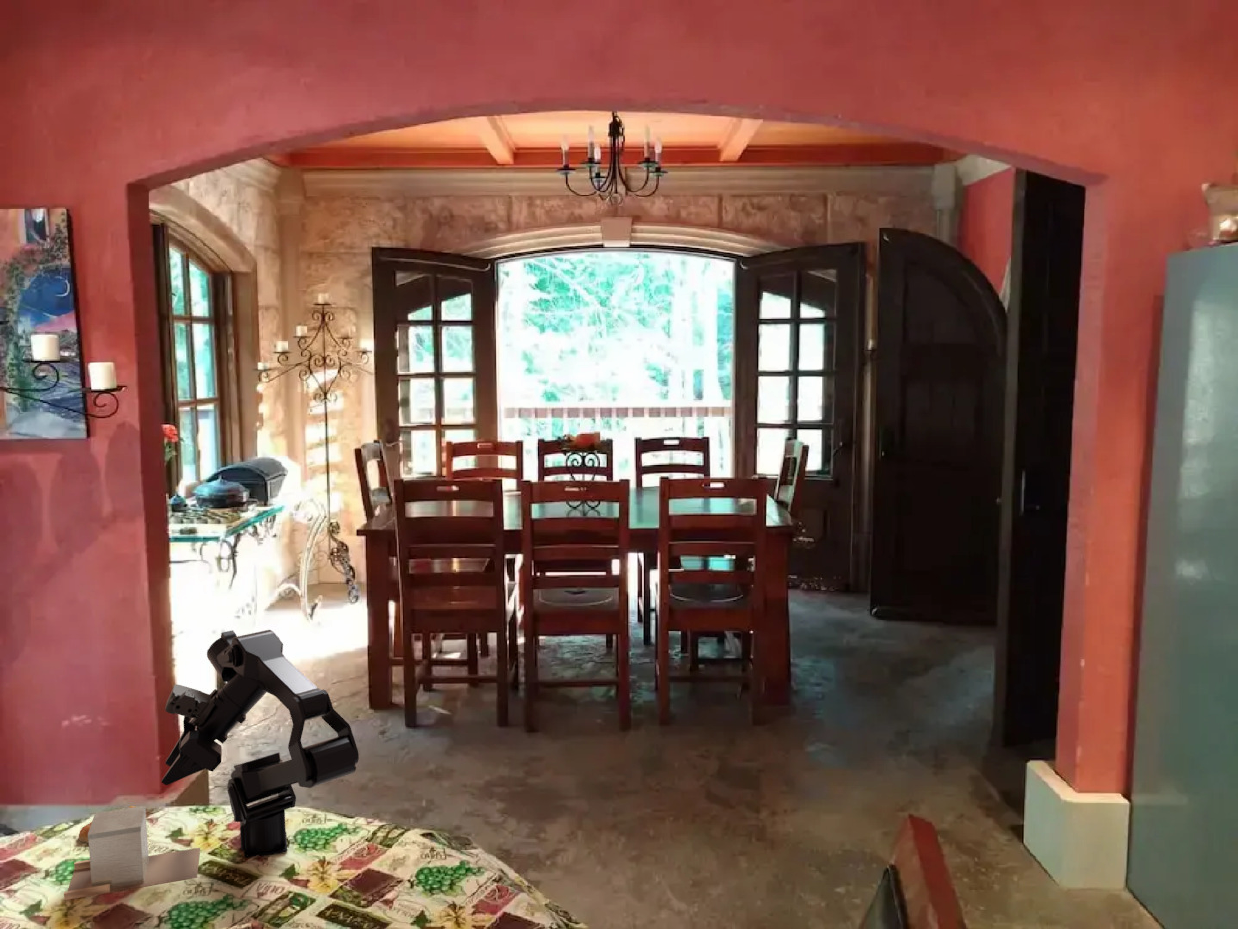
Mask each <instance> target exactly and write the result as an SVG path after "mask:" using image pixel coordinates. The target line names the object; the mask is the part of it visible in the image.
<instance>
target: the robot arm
mask: <svg viewBox="0 0 1238 929" xmlns="http://www.w3.org/2000/svg"><path fill="white" fill-rule="evenodd" d="M283 643H284V642H282V641H281V639H280V637H279V636H278V635H277V634H276V632H274V631H273V630H271V629H267V630H262V631H257V632H252V633H247V634H243V635H242V634H241V635H237V634H236V632H235V631H234V630H232V629H231V630H228V631H223V632H221V633H220V637H219V638H218V639H216V640H215V641H214V642H213V643H211V645H210V646H209V648H208V649H207V651H206V657H207V659H208V661H209V662H210V664H211V665H212V666H213V668H214V670H215V671H216V672H217V674H218V676H219V677H220V678H221V680H222V681H223V682H224V683H225V684H224V686H222V687H221V688H218V687H217V689H213V690H212V692H210V693H209V694H208V693H206V692H203V691H201V690H198V689H196V688H191V687H188V686H185V685H181V684H174V685H173V687H172V689H171V692H170V694H169V696H168V698H167V701H166V703H165V707H164V711H165V712H166V713H168V714H171V715H175V714H176V715H179V716H183V724H182V725H183V732H182V733H181V735H180V737H179V739H178V740H177V742H176V743H175V745H174V747H173V749H172V750H171V752H170V754H169V755H168V757H167V758H166V760H165V765H167V766H168V767H169V769H168V770H167V772H166V773H165V774H164V776H163V778H162V779H161V783H162V784H164V785H165V786H169V785H171V784H173V783H175V782H178V781H180V780H182V779H184V778H187V777H189V776H191V775H193V774H197V773H199V772H201V771H202V772H203V771H204V770H207V771H209V772H214V771H215V770H216V769H217V768H218V766H219V765H221V763H222V759H223V758H222V755H223V750H222V745H221V744H224V743H225V742H226V741H227V740H228V734H229V733H230V732H231V731H232V730H233V729H234V728H235V727H236V726H237V725H238V724H243V723H244V722H245V721H246V719H247V714H248V713H249V712H250V710H252V709H253V708H254V707H255V706H256V704H257V703H258V702H259V701H260V700H261V699H262V698H263V697H264V696H265V694H266V693H267V694H270V695H272V696H274V697H275V698H276V699H278V701H279V702H280V703H281V704H282V705H283V706H284V707H285V708H286V709H287V710H288V711H289V715H290V718H291V721H292V729H291V733H290V737H289V741H288V746H287V748H288V752H289V756H290V759H289V760H286V761H283V759H281V753H280V752H279V751H278V752H275V753H272V754H268V755H266V756H262V757H258V758H256V759H252V760H249V761H245V762H242V763H239V764H236V765H234V766H233V768H234V770H233V771H232V772H231V774H230V779H229V780H228V782H227V786H226V787H227V794H228V798H229V803H230V808H231V812H232V815H233V820H234V822H235V823H239V831H240V833H239V834H240V848H241V849H240V850H241V851H242V852H244V856H243V857H244V859H249V858H255V857H259V858H260V857H267V856H271V855H272V856H273V855H279V854H284V853H287V852H288V838H287V831H286V812H285V810H288V809H294V808H295V806H296V800H297V795H296V794H295V791H294V789H293V786H292V785H294V784H298V786H299V787H302V788H308V789H312V788H315V787H318V786H320V785H323V784H324V785H325V784H327V783H330V782H332V781H335V780H338V779H341V778H343V777H346V776H350V775H352V774H354V773H355V772H356V770H357V766H356V765H357V764H358V763H359V758H360V757H359V755H360V754H359V751H358V750H359V749H358V747H357V746H358V745H357V744H356V740H355V737H354V735H353V730H352V727H351V725H350V723H349V722H347V720H345V719H344V718H343V717H342V716H341V714H339V713H338V712H337V711H336V710H335V709H334V707H333V704H332V700H331V698H330V695H329V693H328V691H327V690H326V689H320V688H318V687H317V686H316V685H315V684H314V683H313V682H312V681H311V680H310V679H309V678H308V677H307V676H306V675H304V673H302V672H301V671H300V669H298V668H297V667H296V666H295V665H294V664H293V663H292V662H291V661H290V660H289V659H287V658H286V656H285V655H284V654H283V652H284V644H283ZM318 718H321V719H322V720H323V721H324V722H325V723H326V724H327V725H329V727H331V729H333V731H334V732H336V734H337V736H336V737H333V738H330V739H327V740H323V741H320V742H317V743H314V744H311V745H310V744H309V745H307V746H304V747H303V744H302V736H303V731H304V728H305V722H307V721H310V720H313V719H318ZM216 740H217V741H218V742H219V743H221V744H219V743H218V742H217V741H216ZM275 795H276V796H275ZM272 796H273V797H272ZM269 797H270V798H269ZM266 798H267V799H266ZM263 799H264V800H263ZM260 800H261V801H260ZM257 801H259V802H257ZM254 802H256V803H254ZM249 804H250V805H249Z"/></svg>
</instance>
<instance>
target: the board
mask: <svg viewBox="0 0 1238 929" xmlns="http://www.w3.org/2000/svg"><path fill="white" fill-rule="evenodd" d="M200 854H201V847H196V848H195V847H194V848H189V849H184V850H178V851H173V852H172V851H170V852H165V853H159V854H158V853H157V854H152V855H148V857H149V860H148V865H147V870H146V875H145V880H144V883H138V884H132V885H126V886H120V887H114V888H110V884H107V885H101V886H95V887H92V881H91V868H90V859H85V860H79V861H74V863H73V864H74V866H73V867H74V871H73V874H72V876H71V880H70V881H69V882H70V883H69V886H68V888H67V890H65V891H64V892H63V900H64V901H68V900H75V899H81V898H87V897H92V896H98V895H105V894H109V893H110V894H111V893H115V892H121V891H128V890H134V889H137V888H138V889H139V888H143V887H144V888H145V887H149V886H156V885H161V884H167V883H172V882H179V881H180V882H181V881H185V880H190V879H191V880H192V879H195V878H198V872H199V864H200Z"/></svg>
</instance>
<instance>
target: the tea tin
mask: <svg viewBox="0 0 1238 929" xmlns="http://www.w3.org/2000/svg"><path fill="white" fill-rule="evenodd" d="M146 812H147V807H146V805H141V806H136V807H133V808H129V807H126V808H122V809H121V808H120V809H114V810H107V811H100V812H95V813H94V814H93V815H94V816H93V819H92V821H91V822H92V823H91V822H90V823H91V826H90V829H89V832H88V840H89V843H88V852H89V860H90V868H91V881H92V887H95V886H101V885H107V884H110V888H114V887H120V886H126V885H132V884H138V883H144V880H145V875H146V870H147V865H148V860H149V857H148V856H149V846H148V831H147V830H148V828H147V815H146Z"/></svg>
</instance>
